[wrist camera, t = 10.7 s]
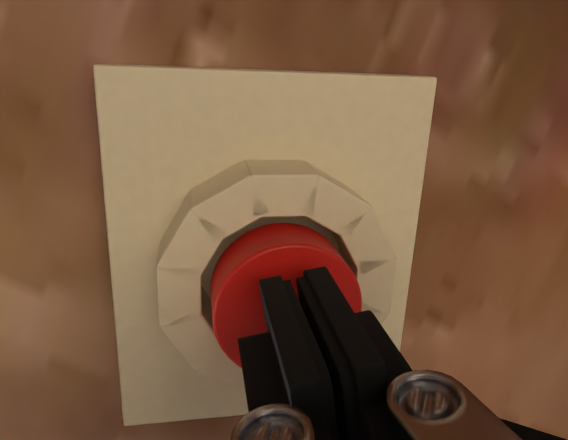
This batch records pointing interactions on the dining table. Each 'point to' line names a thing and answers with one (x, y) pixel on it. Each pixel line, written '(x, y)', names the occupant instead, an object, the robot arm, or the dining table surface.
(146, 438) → the dining table surface
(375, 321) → the robot arm
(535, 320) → the dining table surface
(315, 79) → the switch box
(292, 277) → the power button
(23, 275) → the dining table surface
